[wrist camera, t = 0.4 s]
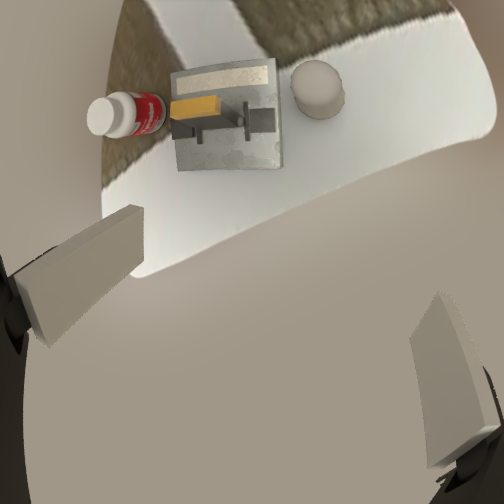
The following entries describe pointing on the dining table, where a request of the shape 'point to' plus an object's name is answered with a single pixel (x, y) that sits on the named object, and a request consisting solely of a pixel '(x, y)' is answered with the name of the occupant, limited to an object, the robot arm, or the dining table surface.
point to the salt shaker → (317, 89)
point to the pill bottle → (126, 114)
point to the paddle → (205, 113)
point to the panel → (244, 104)
